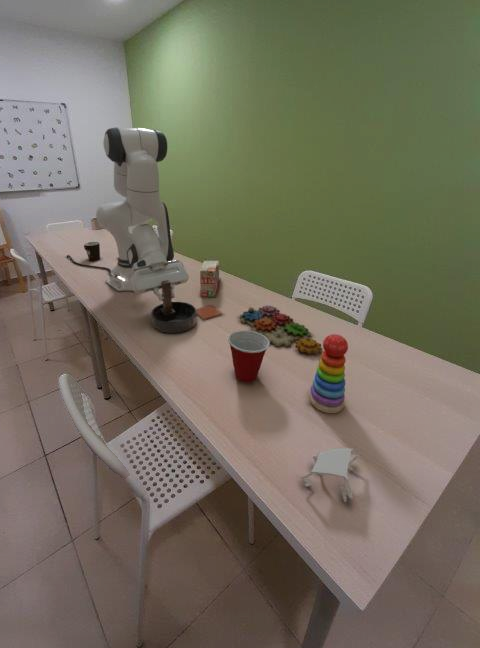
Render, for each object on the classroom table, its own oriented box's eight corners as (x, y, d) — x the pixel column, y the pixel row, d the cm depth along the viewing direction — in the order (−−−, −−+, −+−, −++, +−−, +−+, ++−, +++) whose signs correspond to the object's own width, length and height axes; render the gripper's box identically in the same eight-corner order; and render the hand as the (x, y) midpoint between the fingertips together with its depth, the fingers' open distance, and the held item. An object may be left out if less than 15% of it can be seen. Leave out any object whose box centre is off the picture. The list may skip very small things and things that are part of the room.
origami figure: (341, 520, 50) (347, 502, 48) (296, 482, 56) (299, 465, 54) (371, 474, 57) (377, 456, 55) (328, 444, 62) (332, 427, 60)
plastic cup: (274, 375, 83) (278, 338, 78) (251, 395, 76) (254, 357, 71) (242, 358, 90) (244, 323, 85) (218, 375, 83) (219, 339, 78)
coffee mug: (103, 260, 180) (101, 244, 176) (89, 262, 176) (86, 246, 172) (98, 255, 189) (96, 239, 185) (84, 257, 185) (81, 242, 181)
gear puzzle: (334, 350, 92) (336, 338, 91) (293, 365, 86) (295, 353, 85) (270, 308, 118) (271, 299, 117) (235, 317, 112) (235, 308, 110)
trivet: (193, 311, 118) (193, 310, 117) (210, 306, 121) (210, 305, 121) (203, 320, 111) (203, 318, 111) (221, 314, 115) (221, 313, 114)
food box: (206, 278, 149) (206, 254, 144) (219, 278, 148) (219, 254, 143) (200, 296, 130) (200, 270, 125) (214, 297, 129) (215, 270, 124)
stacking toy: (348, 400, 73) (363, 335, 66) (337, 420, 68) (352, 352, 60) (315, 386, 78) (326, 324, 71) (303, 403, 73) (313, 338, 65)
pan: (143, 324, 110) (142, 313, 108) (174, 307, 121) (173, 297, 119) (174, 339, 100) (174, 328, 98) (205, 320, 111) (205, 309, 109)
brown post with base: (160, 315, 109) (157, 280, 103) (170, 313, 110) (168, 278, 105) (165, 322, 105) (163, 285, 99) (176, 319, 106) (174, 283, 101)
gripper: (178, 262, 115) (191, 295, 111) (126, 273, 106) (138, 308, 102) (183, 254, 109) (196, 288, 106) (129, 265, 101) (141, 302, 97)
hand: (167, 298), depth 104 cm, fingers closed on brown post with base, 2 cm apart
